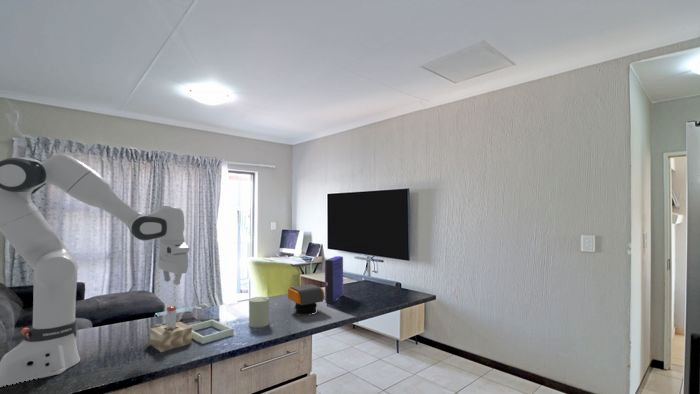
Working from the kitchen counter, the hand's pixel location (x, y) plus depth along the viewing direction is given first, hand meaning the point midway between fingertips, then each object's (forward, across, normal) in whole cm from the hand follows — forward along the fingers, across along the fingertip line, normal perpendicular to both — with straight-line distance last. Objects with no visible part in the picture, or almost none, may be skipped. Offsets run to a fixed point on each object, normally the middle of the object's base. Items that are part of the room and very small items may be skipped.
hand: (172, 282), depth 133 cm
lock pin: (+24, 0, 0) cm, 24 cm away
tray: (+25, 0, +14) cm, 28 cm away
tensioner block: (+24, 0, 0) cm, 25 cm away
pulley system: (+25, -25, +16) cm, 39 cm away
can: (+25, +4, +37) cm, 45 cm away
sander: (+25, +1, +65) cm, 69 cm away
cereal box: (+26, -1, +92) cm, 95 cm away
